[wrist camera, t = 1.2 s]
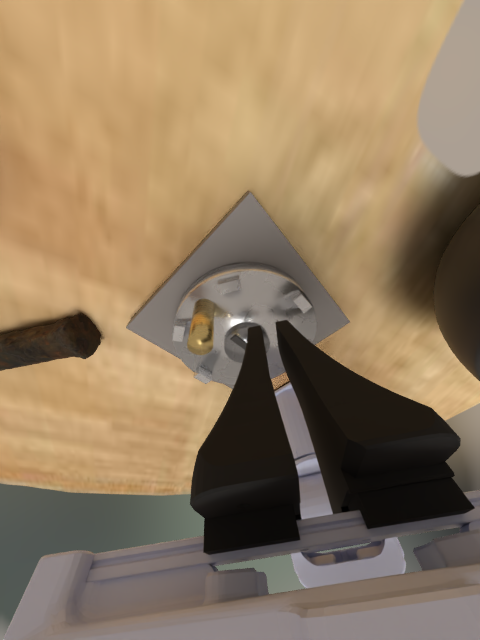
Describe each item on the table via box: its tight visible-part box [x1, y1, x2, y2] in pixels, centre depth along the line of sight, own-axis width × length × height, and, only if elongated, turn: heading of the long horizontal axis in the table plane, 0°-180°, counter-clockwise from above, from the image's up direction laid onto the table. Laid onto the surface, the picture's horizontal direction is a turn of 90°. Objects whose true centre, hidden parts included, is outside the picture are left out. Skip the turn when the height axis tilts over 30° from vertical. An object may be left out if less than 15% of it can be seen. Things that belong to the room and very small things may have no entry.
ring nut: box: [172, 262, 317, 385], centre depth 18 cm, size 13×13×6 cm
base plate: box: [126, 191, 350, 389], centre depth 21 cm, size 16×16×2 cm
